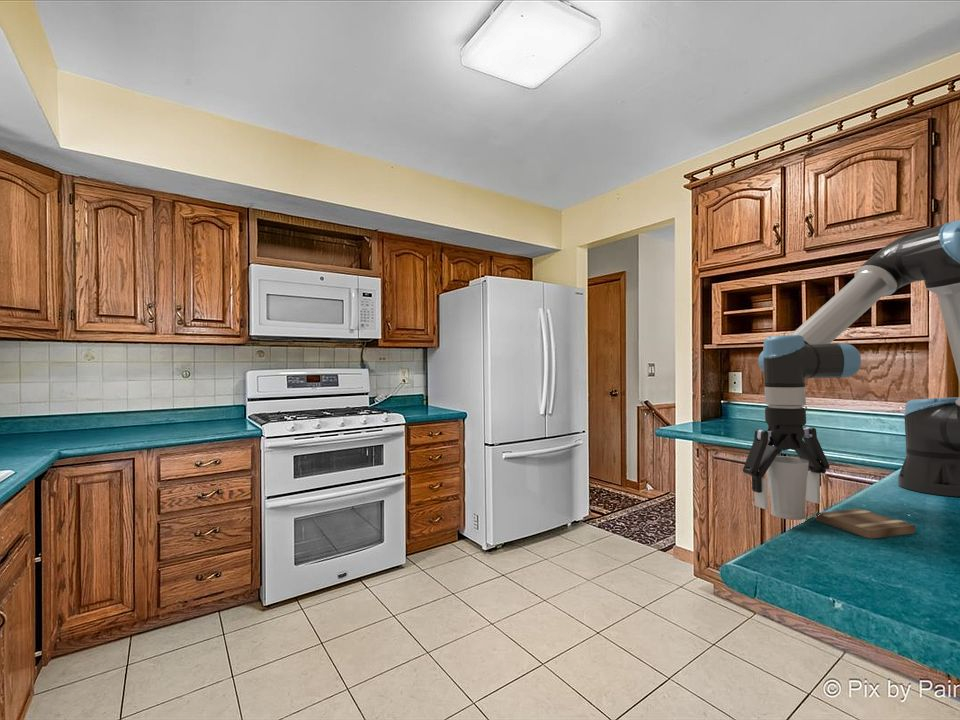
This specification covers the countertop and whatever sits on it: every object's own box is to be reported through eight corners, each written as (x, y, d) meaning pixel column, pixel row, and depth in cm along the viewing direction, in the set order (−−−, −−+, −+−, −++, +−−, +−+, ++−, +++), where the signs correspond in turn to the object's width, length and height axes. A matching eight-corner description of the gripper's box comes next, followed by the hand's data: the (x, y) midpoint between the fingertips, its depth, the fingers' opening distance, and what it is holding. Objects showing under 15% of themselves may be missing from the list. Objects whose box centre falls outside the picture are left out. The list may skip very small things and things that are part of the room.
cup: (769, 507, 109) (768, 454, 109) (812, 513, 104) (810, 458, 104) (763, 516, 103) (761, 460, 103) (808, 523, 98) (806, 464, 98)
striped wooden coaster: (858, 515, 102) (857, 507, 102) (915, 532, 92) (915, 524, 92) (816, 520, 100) (815, 512, 100) (869, 538, 89) (869, 529, 89)
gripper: (816, 403, 110) (818, 495, 110) (723, 407, 105) (725, 504, 105) (847, 405, 103) (850, 504, 103) (749, 410, 97) (752, 514, 97)
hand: (787, 504), depth 104 cm, fingers open, 13 cm apart
